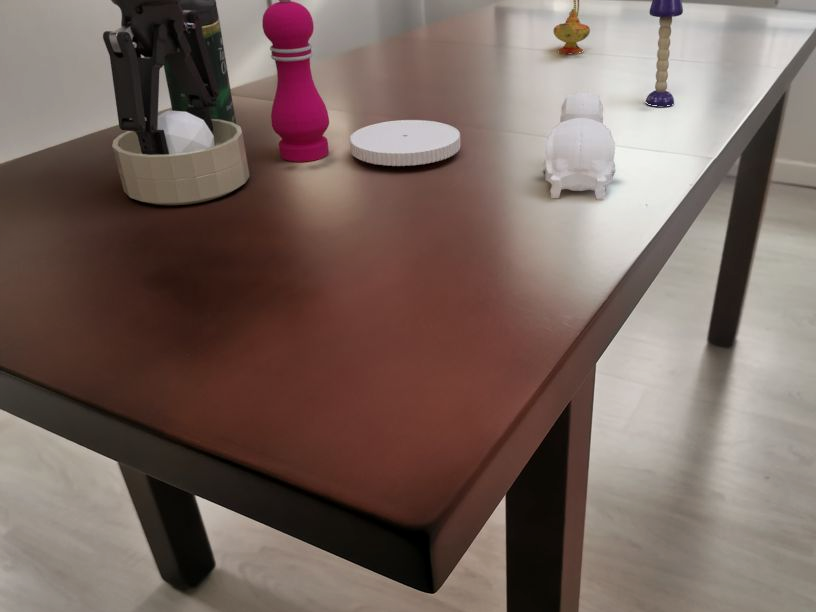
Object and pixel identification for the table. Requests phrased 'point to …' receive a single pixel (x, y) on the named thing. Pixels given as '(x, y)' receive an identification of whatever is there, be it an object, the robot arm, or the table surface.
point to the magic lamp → (571, 32)
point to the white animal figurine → (580, 148)
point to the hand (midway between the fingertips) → (186, 174)
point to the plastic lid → (405, 142)
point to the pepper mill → (295, 84)
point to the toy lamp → (663, 49)
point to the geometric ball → (184, 132)
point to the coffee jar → (212, 35)
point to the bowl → (183, 169)
